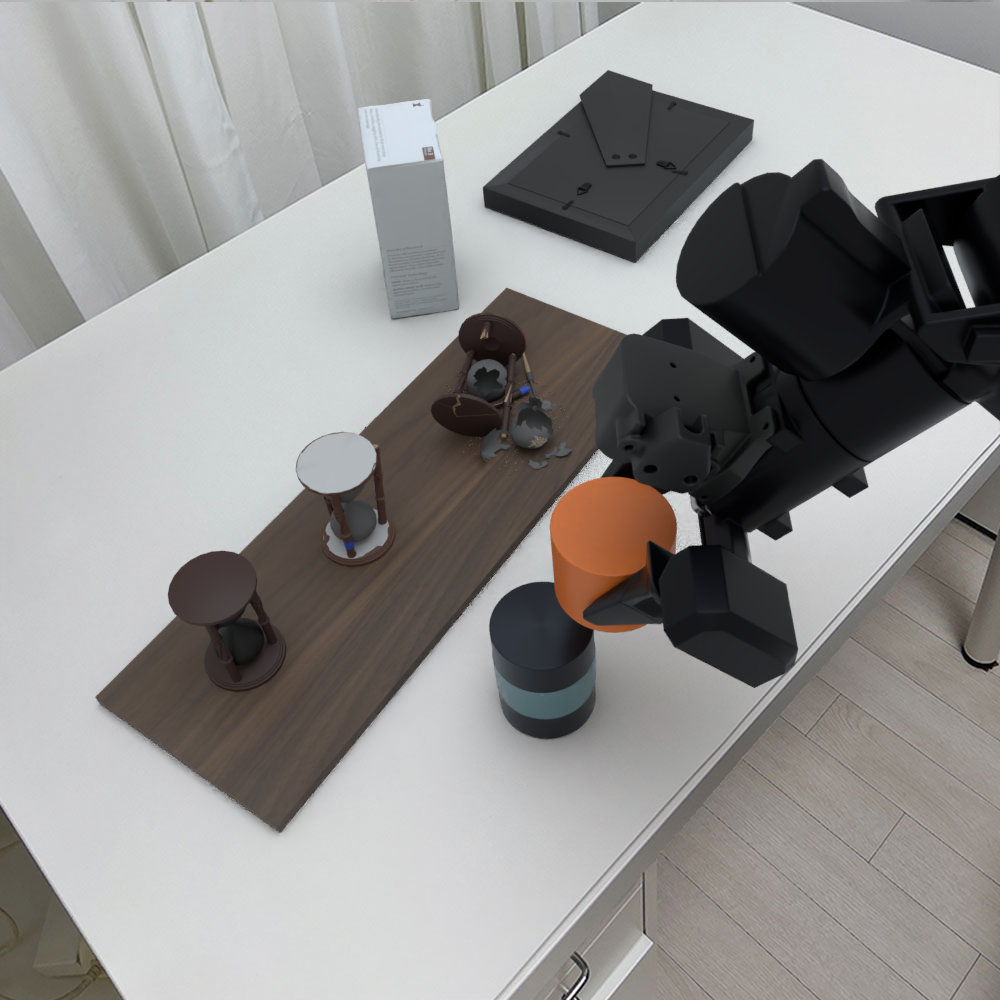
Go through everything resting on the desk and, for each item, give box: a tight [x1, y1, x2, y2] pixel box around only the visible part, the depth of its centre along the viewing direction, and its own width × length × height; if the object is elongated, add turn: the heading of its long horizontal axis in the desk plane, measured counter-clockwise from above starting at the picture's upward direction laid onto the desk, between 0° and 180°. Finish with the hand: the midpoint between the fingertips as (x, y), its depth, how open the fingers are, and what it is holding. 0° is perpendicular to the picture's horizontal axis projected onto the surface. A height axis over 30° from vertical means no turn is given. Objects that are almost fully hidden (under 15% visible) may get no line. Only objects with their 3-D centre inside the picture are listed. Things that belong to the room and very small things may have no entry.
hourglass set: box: [94, 287, 627, 833], centre depth 74 cm, size 15×45×8 cm, turn 145°
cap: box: [549, 477, 678, 634], centre depth 56 cm, size 6×6×5 cm
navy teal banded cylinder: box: [488, 581, 597, 740], centre depth 64 cm, size 6×6×8 cm
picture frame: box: [482, 69, 755, 263], centre depth 100 cm, size 16×3×21 cm
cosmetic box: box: [357, 98, 460, 319], centre depth 87 cm, size 8×6×15 cm
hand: (586, 566), depth 57 cm, fingers closed on cap, 6 cm apart
